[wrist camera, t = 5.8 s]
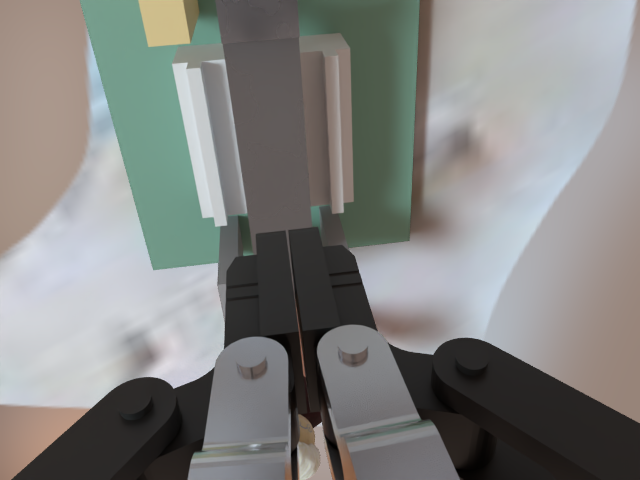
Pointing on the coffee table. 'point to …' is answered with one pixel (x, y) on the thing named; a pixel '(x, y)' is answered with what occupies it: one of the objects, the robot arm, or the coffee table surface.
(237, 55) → the gray bar
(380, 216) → the board
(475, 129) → the coffee table surface
